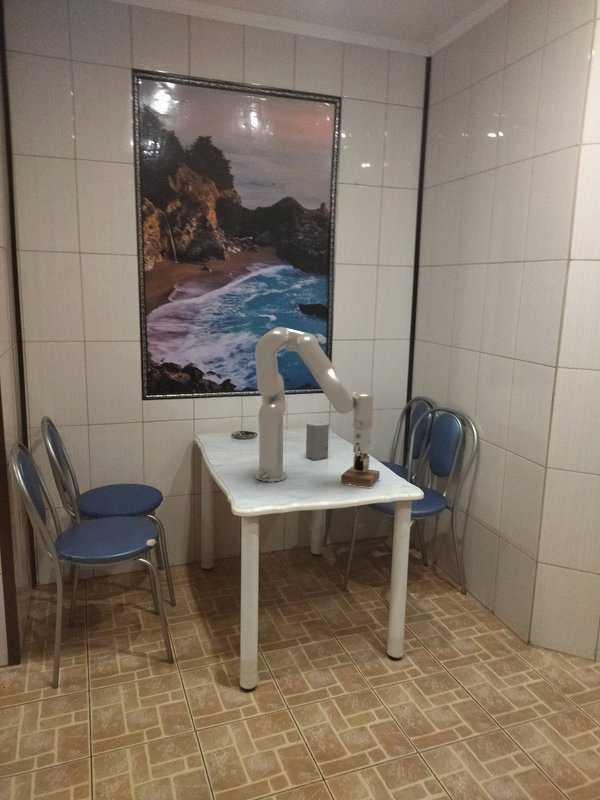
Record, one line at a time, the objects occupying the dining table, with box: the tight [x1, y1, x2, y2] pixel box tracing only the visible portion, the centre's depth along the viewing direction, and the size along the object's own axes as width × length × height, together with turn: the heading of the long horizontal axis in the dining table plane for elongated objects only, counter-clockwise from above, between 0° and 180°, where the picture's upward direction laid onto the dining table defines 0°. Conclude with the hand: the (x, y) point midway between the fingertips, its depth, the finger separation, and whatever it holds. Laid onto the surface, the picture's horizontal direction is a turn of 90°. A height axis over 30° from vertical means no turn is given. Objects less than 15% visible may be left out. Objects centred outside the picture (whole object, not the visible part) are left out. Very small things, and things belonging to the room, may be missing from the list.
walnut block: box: [340, 466, 380, 488], centre depth 236 cm, size 12×12×4 cm
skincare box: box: [305, 421, 330, 461], centre depth 265 cm, size 8×7×16 cm
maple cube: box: [352, 454, 370, 472], centre depth 235 cm, size 5×5×5 cm
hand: (361, 467), depth 235 cm, fingers closed on maple cube, 5 cm apart
